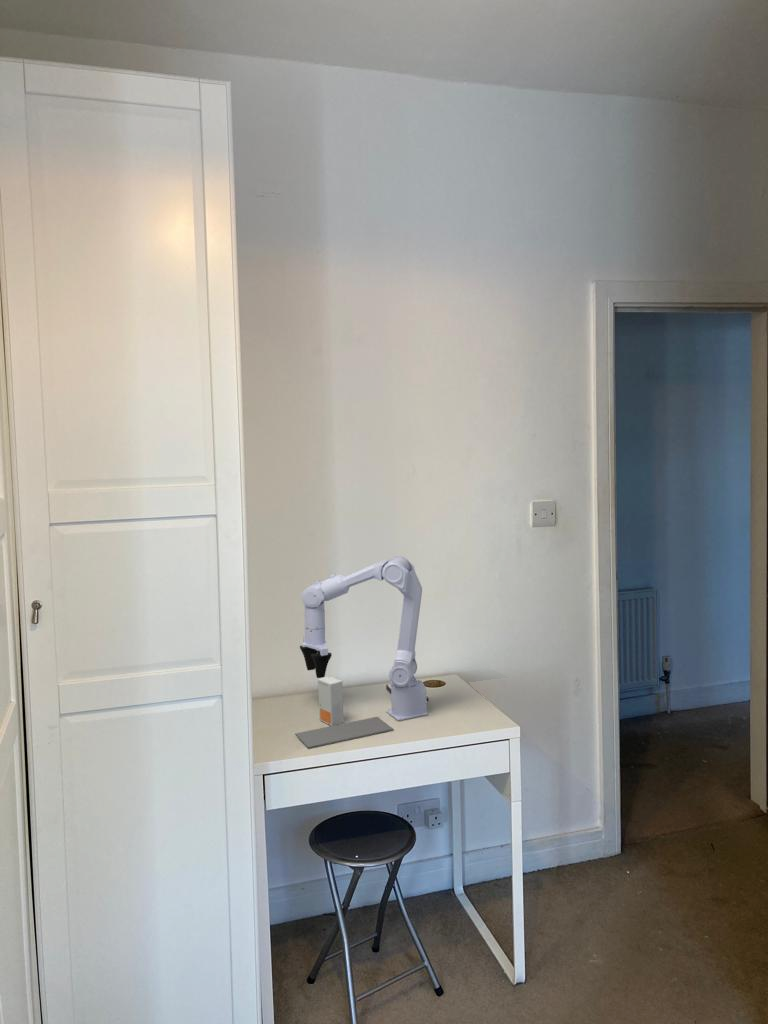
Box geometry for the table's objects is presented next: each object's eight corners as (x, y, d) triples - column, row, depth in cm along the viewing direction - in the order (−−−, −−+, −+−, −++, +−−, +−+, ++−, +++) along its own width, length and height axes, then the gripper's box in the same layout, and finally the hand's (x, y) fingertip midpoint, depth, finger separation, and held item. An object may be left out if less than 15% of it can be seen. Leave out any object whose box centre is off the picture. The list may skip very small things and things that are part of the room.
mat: (377, 718, 215) (377, 716, 215) (393, 730, 206) (393, 728, 206) (295, 735, 205) (295, 733, 205) (308, 749, 196) (308, 747, 196)
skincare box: (318, 720, 215) (317, 678, 213) (331, 716, 217) (329, 675, 216) (331, 727, 210) (330, 684, 209) (344, 722, 213) (343, 680, 211)
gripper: (293, 622, 225) (294, 668, 227) (310, 635, 212) (311, 683, 214) (315, 620, 228) (316, 664, 230) (334, 631, 215) (335, 679, 217)
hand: (315, 673), depth 222 cm, fingers open, 7 cm apart
